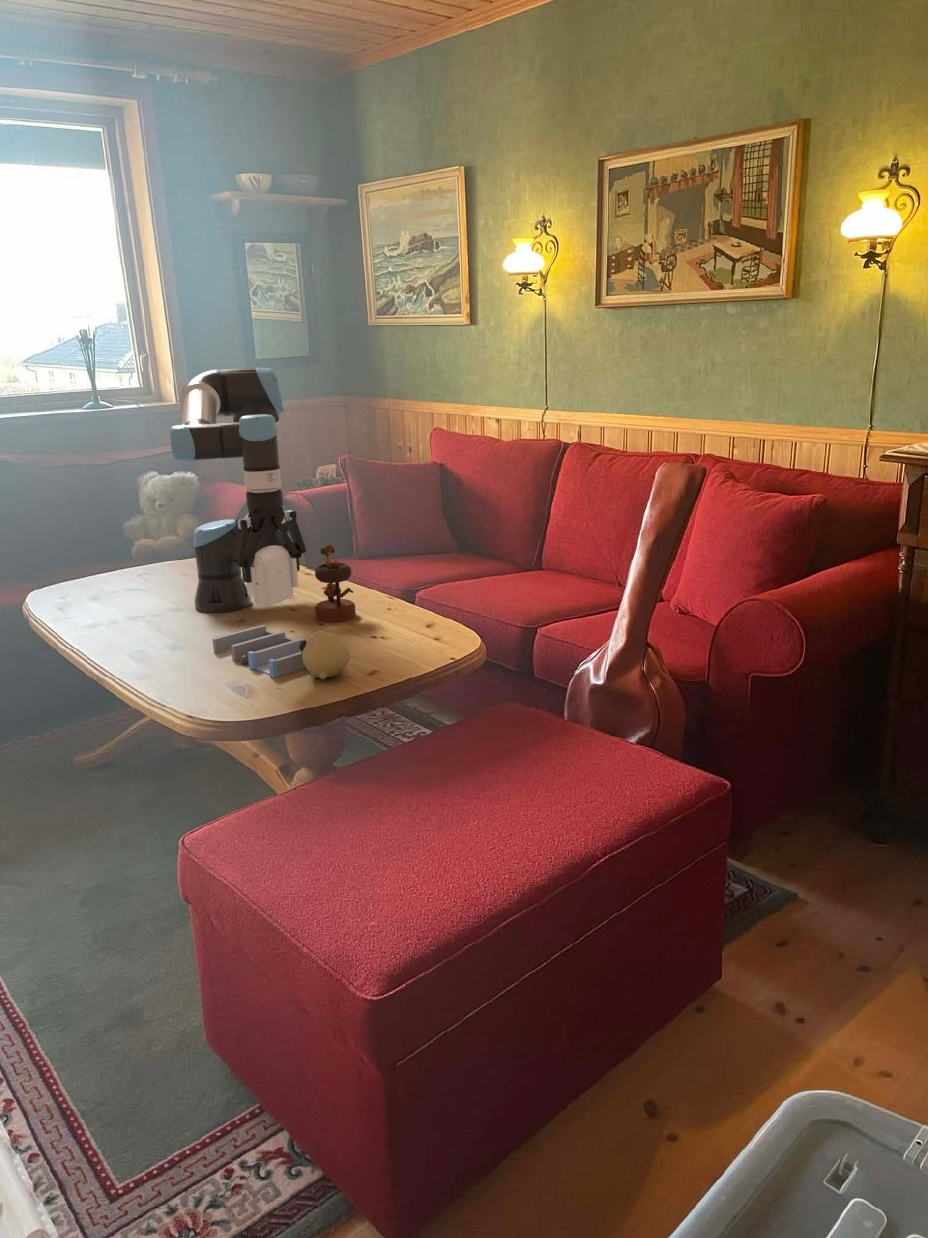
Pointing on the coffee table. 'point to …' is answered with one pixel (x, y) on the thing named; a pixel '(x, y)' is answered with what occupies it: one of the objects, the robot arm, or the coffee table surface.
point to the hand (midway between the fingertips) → (273, 591)
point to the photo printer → (272, 575)
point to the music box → (334, 590)
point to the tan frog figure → (324, 655)
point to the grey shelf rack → (263, 650)
